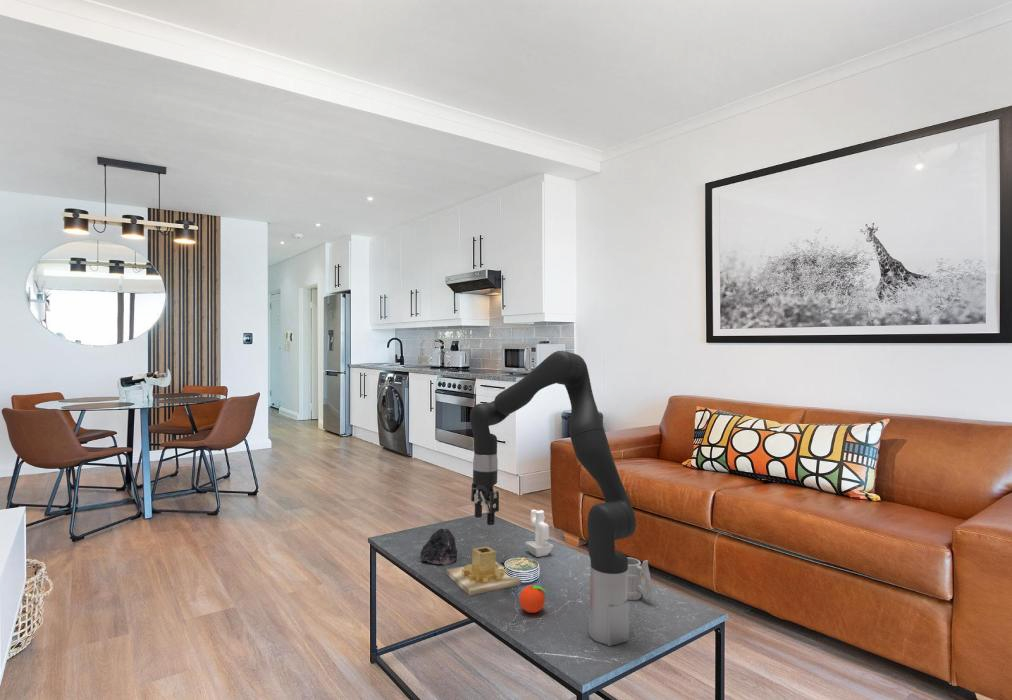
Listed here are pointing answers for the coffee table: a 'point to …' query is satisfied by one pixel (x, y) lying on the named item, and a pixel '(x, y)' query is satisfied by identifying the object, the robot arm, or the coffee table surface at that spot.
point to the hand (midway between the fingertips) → (484, 520)
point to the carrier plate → (479, 587)
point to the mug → (638, 579)
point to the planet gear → (483, 566)
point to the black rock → (440, 548)
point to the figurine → (539, 535)
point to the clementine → (532, 598)
